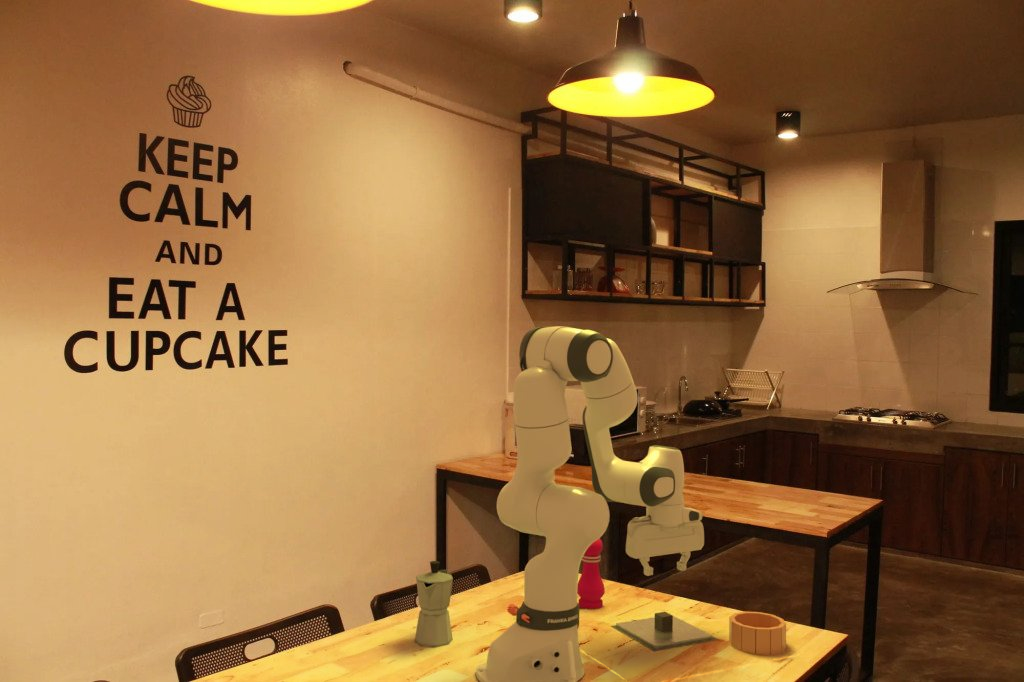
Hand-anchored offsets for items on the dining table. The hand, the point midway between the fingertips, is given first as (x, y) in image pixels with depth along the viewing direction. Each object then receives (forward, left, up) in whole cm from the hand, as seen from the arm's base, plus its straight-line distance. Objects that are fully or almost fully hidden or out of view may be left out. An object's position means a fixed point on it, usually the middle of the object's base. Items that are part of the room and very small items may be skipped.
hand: (665, 572), depth 197 cm
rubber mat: (0, 0, -15) cm, 15 cm away
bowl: (+15, -15, -15) cm, 26 cm away
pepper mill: (-5, +25, -15) cm, 29 cm away
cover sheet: (0, 0, -14) cm, 14 cm away
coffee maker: (-50, +19, -15) cm, 56 cm away
